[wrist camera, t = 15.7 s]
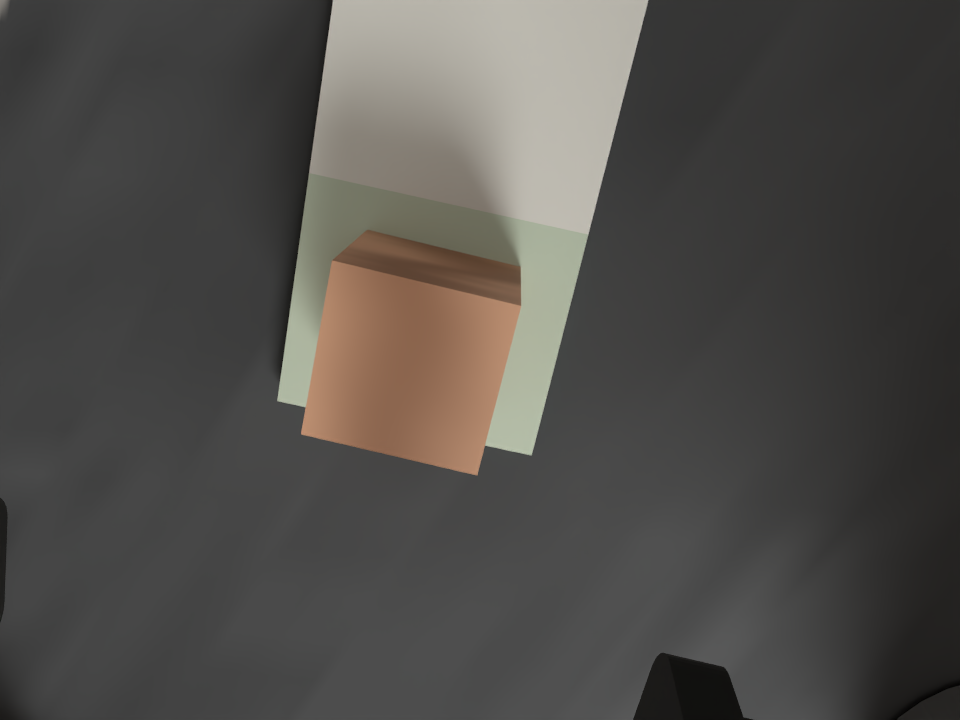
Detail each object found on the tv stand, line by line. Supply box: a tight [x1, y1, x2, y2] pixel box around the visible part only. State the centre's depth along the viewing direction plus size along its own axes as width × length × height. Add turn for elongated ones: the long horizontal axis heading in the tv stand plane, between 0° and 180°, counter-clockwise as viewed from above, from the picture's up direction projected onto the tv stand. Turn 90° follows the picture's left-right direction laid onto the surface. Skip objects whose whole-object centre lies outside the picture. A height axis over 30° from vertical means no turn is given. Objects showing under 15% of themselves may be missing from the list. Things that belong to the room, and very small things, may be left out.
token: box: [301, 230, 521, 475], centre depth 21 cm, size 4×4×4 cm
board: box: [277, 0, 648, 455], centre depth 23 cm, size 8×14×1 cm, turn 168°
